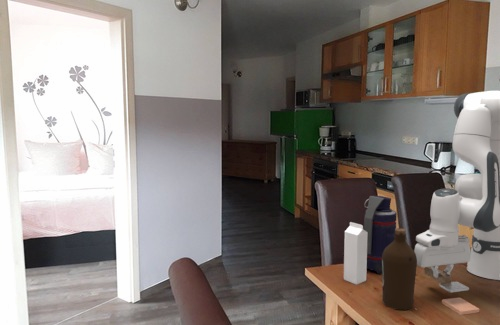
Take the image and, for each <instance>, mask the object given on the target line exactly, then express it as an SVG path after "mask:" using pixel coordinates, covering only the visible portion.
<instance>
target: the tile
mask: <svg viewBox="0 0 500 325" xmlns="http://www.w3.org/2000/svg"><path fill="white" fill-rule="evenodd" d="M441 304H442V305H443V306H446V307H447V308H449V309H450V310H452V312H455V313H456V314H458V315H459V316H463V315H471V314H476V313H480V308H479V307H477V306H476V305H474V304H472V303H470V302H468V301H467V300H465V299H463V297H462V298H461V297H459V296H458V297H451V298H446V299H442V300H441Z"/></svg>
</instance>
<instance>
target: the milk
mask: <svg viewBox="0 0 500 325" xmlns="http://www.w3.org/2000/svg"><path fill="white" fill-rule="evenodd" d="M367 234H368V232H366V231H365V230H364V224H363V225H362V224H360V223H356V222H352V221H350V222H349V226H348V227H347V228H346V230H344V239H343V240H344V243H343V244H344V247H343V249H344V250H343V251H344V252H343V255H344V256H343V280H344V281H347V282H348V283H351V284H353V285H356V286H357V285H359V284H361V283H365V282H366V281H367V269H368V268H367Z"/></svg>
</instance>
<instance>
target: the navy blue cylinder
mask: <svg viewBox="0 0 500 325" xmlns="http://www.w3.org/2000/svg"><path fill="white" fill-rule="evenodd" d="M391 201H392V198H391V197H387V196H382V195H369V198H368V199H366V200H365V202H364V208H366V209H365V211H364V219H363V221H364V222H363V230H365V231H366V232H368V234H367V269H368V270H371V271H374V272H376V274H378V275H382V254H383V252H384V249H385V248H386V247H387V246H388V245H389V244H391V243H392V242H393V241H394V240H395V229H397V211H395V210H394V209H393V210H392V208H391ZM367 202H368V204H367V206H366V203H367Z"/></svg>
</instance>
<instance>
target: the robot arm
mask: <svg viewBox="0 0 500 325" xmlns="http://www.w3.org/2000/svg"><path fill="white" fill-rule="evenodd" d="M453 112H454V115H455V117H456V119H457V121H456V124H455V127H454V128H455V129H454V131H453V132H454V133H453V138H452V146H451V147H452V151H453V152H454V154H455V155H456V157H457V158H459V160H461V161H463V162H465V163H466V164H469V165H470V166H473V167H474V168H476V169H477V170H478V171H479V172H480V173H467V174H466V173H465V174H464V173H463V174H461V175H459V176H458V178H456V181H455V185H454V188H440V189H437V190H435V191H434V192H433V194H432V198H431V203H430V210H429V211H430V212H429V213H430V214H429V215H430V219H431V220H430V224H429V229H427V230H426V231H424V232H422V233H419V234H417V235H416V236H415V241H416V242H417V243H416V244H415V245H414V249H413V250H414V252H415V254H416V257H417V266H418V267H420V268H425V267H430V266H431V268H432V270H433V276H434V277H436V278H438V277H440V275H441V273H440V272H438V270H437V269H439V266H446V267H445V269H442V271H443V272H445V273H447V274H449V275H451V272H452V270H453V268H454V266H455V265H456V264H464V263H467V264H466V265H467V267H466V270H467V271H468V272H469V273H470V274H472V275H475V276H478V277H480V278H485V279H489V280H495V281H500V90H487V91H478V92H467V93H463V94H460V95H459V96H458V97H457V98H456V100H455V101H454V105H453ZM459 225H460V226H463V227H468V228H473V234H472V235H471V244H470V238H469V236H467V235H465V234H462V235H460V228H459Z"/></svg>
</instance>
